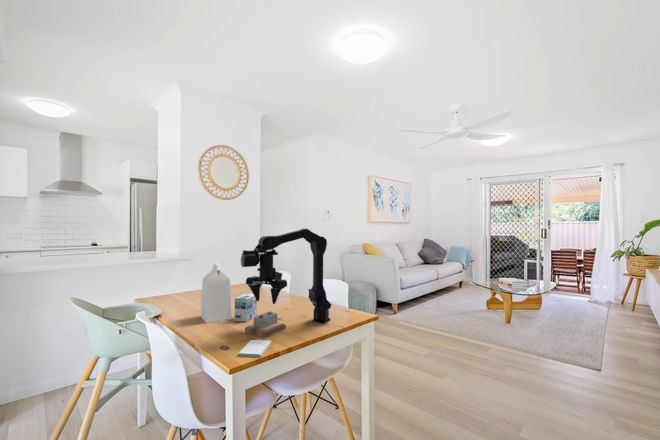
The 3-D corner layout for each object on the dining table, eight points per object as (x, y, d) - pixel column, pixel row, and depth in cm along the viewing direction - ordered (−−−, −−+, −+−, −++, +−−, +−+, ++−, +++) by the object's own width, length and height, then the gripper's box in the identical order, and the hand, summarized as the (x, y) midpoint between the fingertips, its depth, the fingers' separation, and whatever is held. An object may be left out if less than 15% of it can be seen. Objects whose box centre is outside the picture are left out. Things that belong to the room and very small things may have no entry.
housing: (262, 328, 120) (262, 317, 120) (253, 326, 123) (253, 315, 123) (277, 322, 128) (277, 312, 128) (268, 320, 131) (268, 310, 131)
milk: (231, 318, 141) (232, 264, 142) (206, 323, 135) (206, 266, 135) (224, 312, 151) (225, 261, 152) (200, 316, 145) (201, 263, 145)
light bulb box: (247, 322, 136) (247, 298, 137) (233, 321, 138) (234, 298, 138) (257, 315, 147) (257, 293, 147) (244, 314, 148) (245, 293, 149)
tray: (285, 329, 127) (285, 323, 128) (266, 337, 117) (266, 331, 117) (264, 324, 134) (264, 318, 134) (244, 332, 123) (244, 326, 123)
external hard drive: (237, 358, 101) (250, 343, 113) (260, 359, 100) (271, 344, 112) (237, 353, 101) (250, 339, 113) (260, 354, 100) (271, 340, 112)
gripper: (295, 265, 128) (294, 301, 128) (263, 262, 138) (262, 296, 137) (278, 268, 119) (278, 307, 118) (245, 264, 128) (244, 301, 128)
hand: (265, 302), depth 126 cm, fingers open, 9 cm apart
